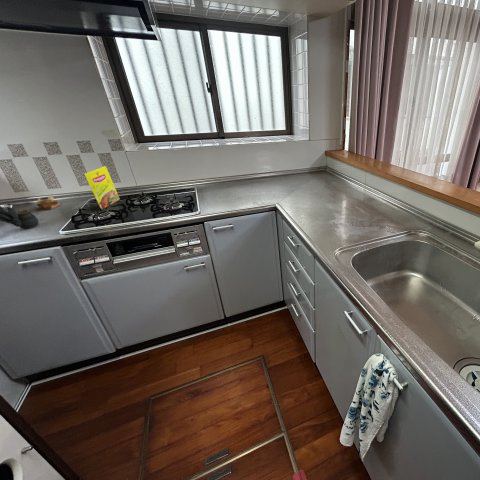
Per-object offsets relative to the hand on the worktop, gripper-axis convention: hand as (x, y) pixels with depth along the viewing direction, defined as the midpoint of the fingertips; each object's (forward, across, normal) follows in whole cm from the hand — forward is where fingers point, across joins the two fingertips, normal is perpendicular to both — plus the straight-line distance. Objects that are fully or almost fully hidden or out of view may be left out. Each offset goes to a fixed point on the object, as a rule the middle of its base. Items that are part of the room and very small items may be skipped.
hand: (19, 223), depth 121 cm
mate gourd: (+8, 0, +1) cm, 9 cm away
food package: (+19, +31, +12) cm, 38 cm away
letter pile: (+28, 0, +21) cm, 35 cm away
